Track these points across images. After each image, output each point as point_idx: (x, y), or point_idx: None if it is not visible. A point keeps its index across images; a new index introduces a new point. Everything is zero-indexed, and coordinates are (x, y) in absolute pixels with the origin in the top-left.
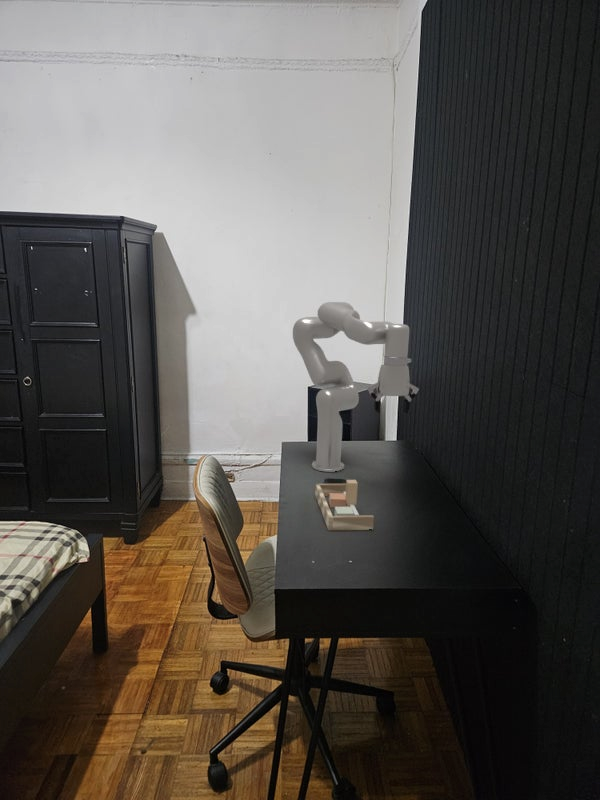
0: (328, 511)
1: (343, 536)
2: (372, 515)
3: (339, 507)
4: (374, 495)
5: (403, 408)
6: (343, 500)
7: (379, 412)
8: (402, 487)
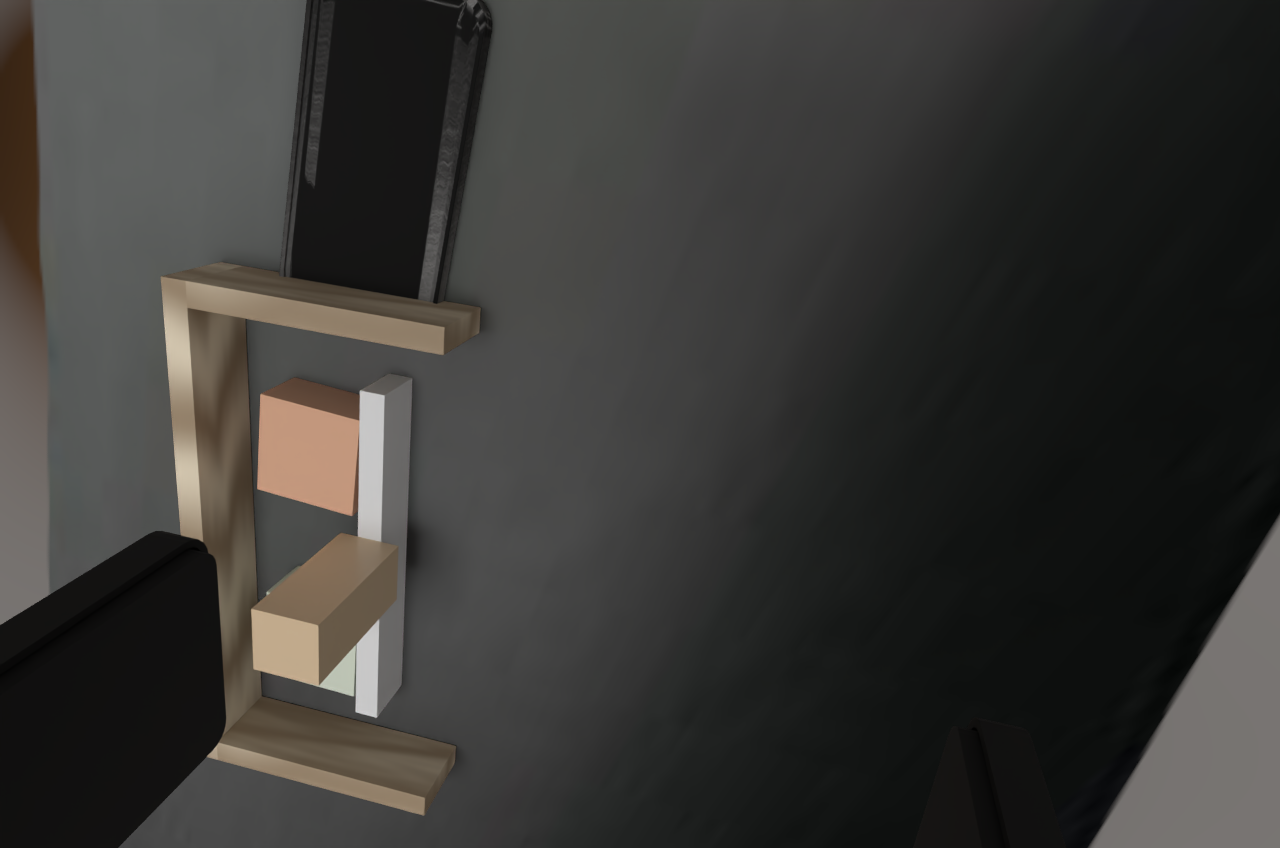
0: None
1: None
2: (421, 799)
3: None
4: (629, 353)
5: (955, 804)
6: (338, 508)
7: (217, 729)
8: (943, 239)
